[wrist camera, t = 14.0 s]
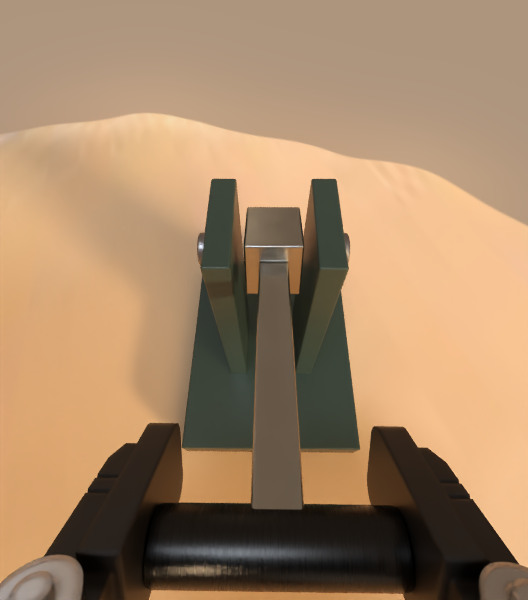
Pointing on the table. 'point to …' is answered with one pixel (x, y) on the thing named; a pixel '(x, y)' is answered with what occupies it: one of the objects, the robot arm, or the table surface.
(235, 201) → the bracket
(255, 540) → the lever
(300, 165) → the table surface
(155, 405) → the table surface
